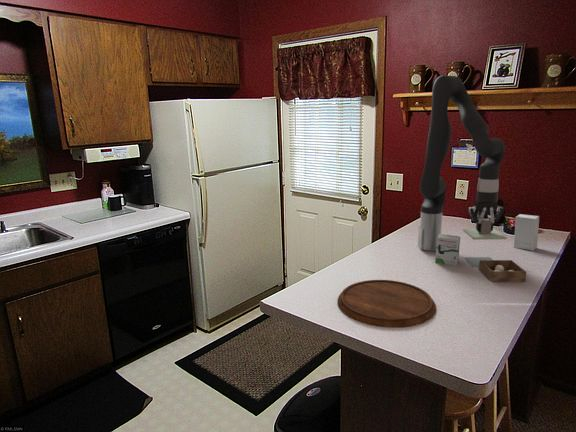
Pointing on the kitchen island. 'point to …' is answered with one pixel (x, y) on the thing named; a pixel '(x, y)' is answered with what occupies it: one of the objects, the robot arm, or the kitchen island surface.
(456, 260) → the ink box
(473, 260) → the felt mat
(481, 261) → the box
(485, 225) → the lid
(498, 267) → the bead
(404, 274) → the kitchen island surface
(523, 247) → the skincare box
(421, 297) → the cutting board
